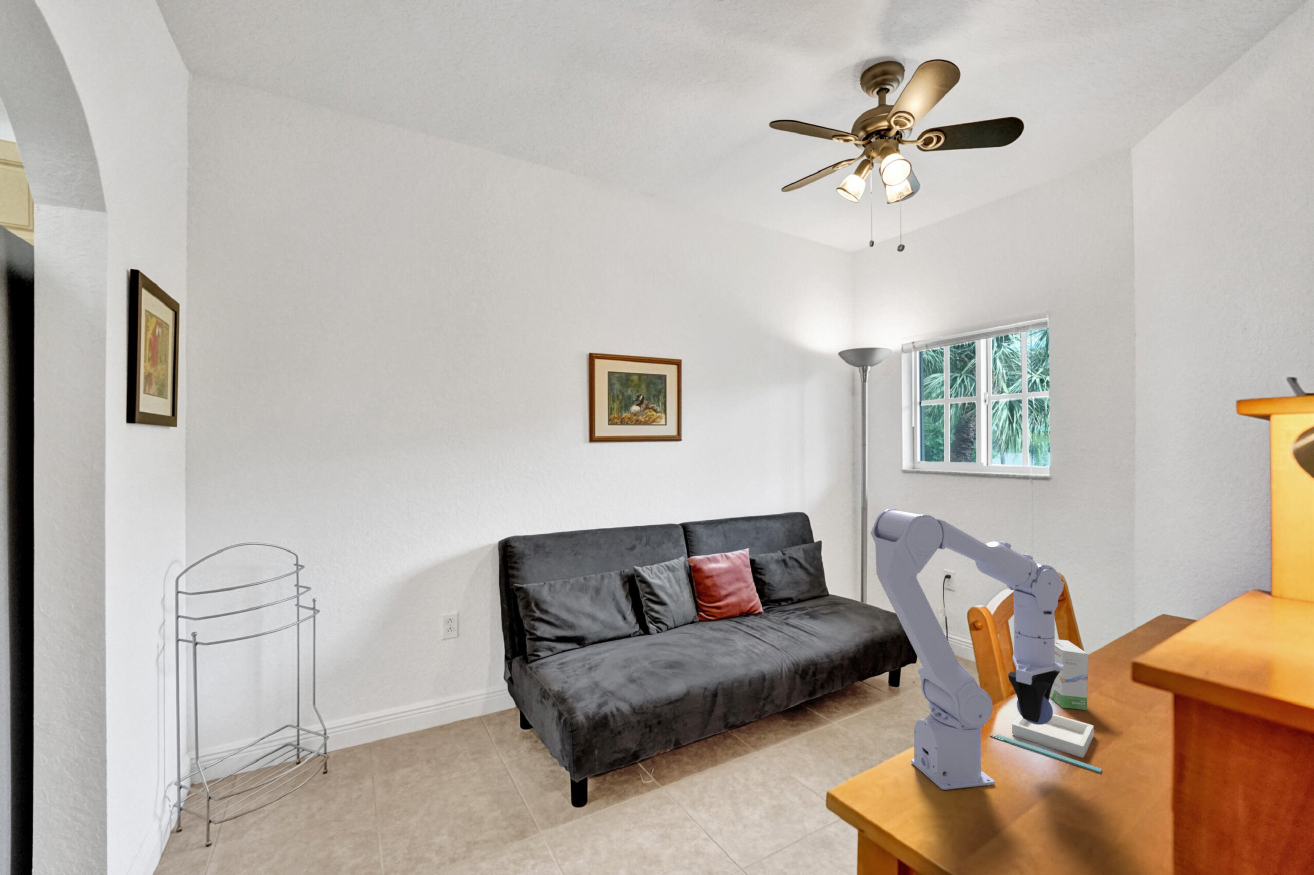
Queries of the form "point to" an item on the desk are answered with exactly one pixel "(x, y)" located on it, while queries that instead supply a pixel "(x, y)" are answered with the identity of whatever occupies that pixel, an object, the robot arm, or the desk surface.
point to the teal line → (1050, 754)
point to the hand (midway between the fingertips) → (1034, 714)
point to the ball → (1042, 712)
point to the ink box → (1070, 676)
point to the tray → (1057, 734)
